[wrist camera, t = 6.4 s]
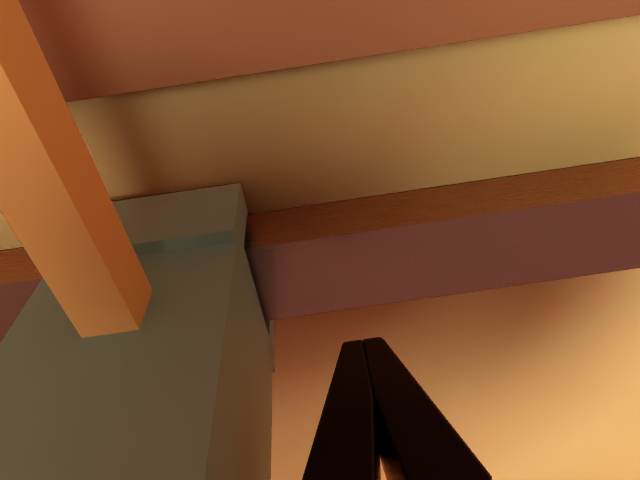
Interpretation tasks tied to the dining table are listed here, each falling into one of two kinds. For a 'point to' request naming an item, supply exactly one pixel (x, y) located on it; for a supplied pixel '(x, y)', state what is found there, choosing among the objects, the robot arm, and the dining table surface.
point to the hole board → (265, 34)
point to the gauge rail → (423, 242)
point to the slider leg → (122, 310)
